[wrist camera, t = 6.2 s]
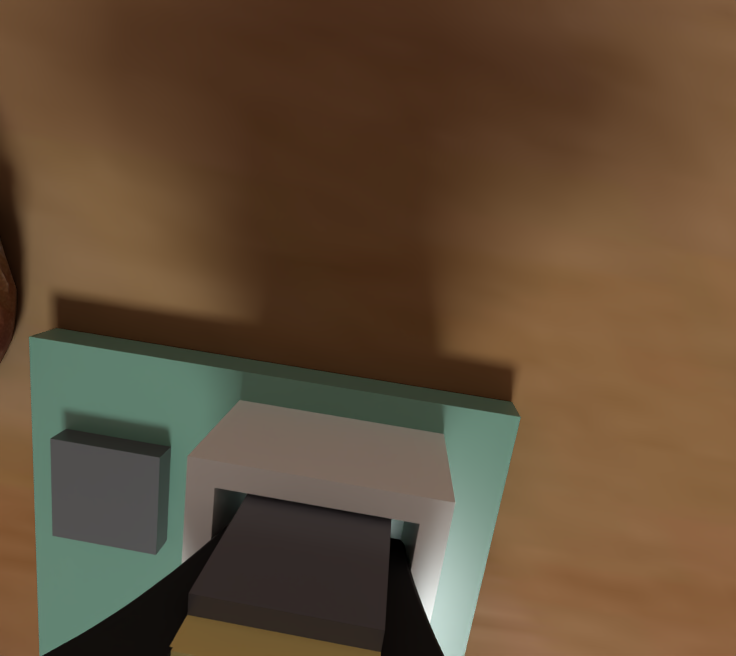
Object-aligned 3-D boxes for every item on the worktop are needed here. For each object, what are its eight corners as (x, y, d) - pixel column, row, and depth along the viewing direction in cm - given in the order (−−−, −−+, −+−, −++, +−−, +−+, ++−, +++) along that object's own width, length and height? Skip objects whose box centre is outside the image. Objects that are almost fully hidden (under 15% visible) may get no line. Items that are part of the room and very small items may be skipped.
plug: (372, 592, 13) (345, 871, 7) (265, 572, 13) (158, 831, 7) (395, 460, 12) (382, 668, 6) (278, 440, 12) (168, 627, 6)
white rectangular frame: (404, 634, 13) (404, 748, 11) (223, 600, 14) (173, 702, 11) (444, 433, 12) (455, 502, 9) (239, 399, 12) (187, 456, 9)
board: (416, 820, 16) (417, 924, 14) (64, 747, 17) (7, 835, 15) (511, 402, 13) (536, 445, 10) (56, 328, 13) (-21, 352, 11)
